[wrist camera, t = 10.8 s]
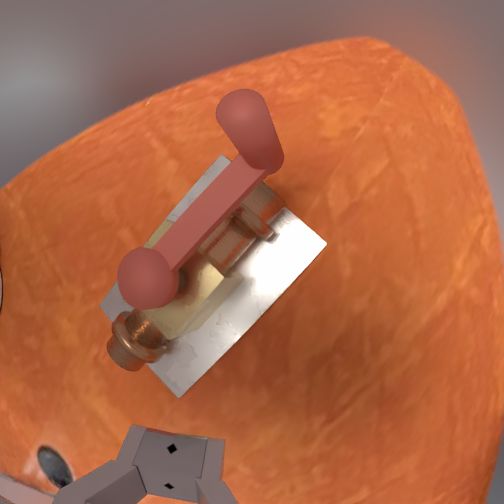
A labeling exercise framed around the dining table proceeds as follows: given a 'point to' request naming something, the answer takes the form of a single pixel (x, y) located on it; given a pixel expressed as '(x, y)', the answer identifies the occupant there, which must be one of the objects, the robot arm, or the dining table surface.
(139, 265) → the lever
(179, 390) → the valve body
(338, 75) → the dining table surface
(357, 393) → the dining table surface
